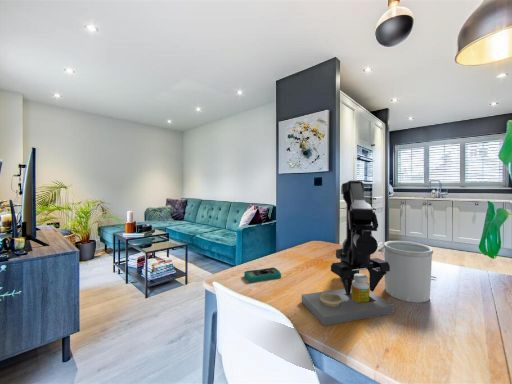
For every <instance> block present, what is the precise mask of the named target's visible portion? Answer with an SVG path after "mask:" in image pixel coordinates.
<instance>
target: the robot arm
mask: <svg viewBox="0 0 512 384" xmlns="http://www.w3.org/2000/svg"><path fill="white" fill-rule="evenodd" d="M340 187H341V188H340V194H341V195H342V199H343V200H344V202H345V204H346V208H345V209H346V212H345V213H346V216H345V217H346V218H345V219H346V221H345V222H346V224H345V225H346V226H345V229H346V232H345V233H346V236H345V239H344V241H343V242H342V245H341V248H339V249H336V250H335V258H336V259H338V260H340V262H339V261H337V262H332V263H331V265H330V272H332V273H333V274H335V275H337V276H338V277H339V278H340V280H341V282H342V283H341V284H342V285H343V289H344V288H345V291H346V294H347V295H350V292H351V287H352V281H353V280H354V274H360V271H364V270H367V272H368V273H369V278H368V279H369V282H368V283H369V286H370V291H371V292H372V293H374V291H375V290H376V288H377V286H378V285H379V283H380V281H382V279H383V278H384V277H385V274H387V272H388V271H390V265H389V264H388V262H386V261H385V259H380V258H378V257H375V258H371V255H373V254H374V253H375V252H377V250H378V247H379V244H378V241H377V239H376V237H374V236H373V233H372V232H378V228H379V221H378V218H377V217H378V216H377V214H376V211H374V209H373V207H372V205H371V204H370V203H369V202H366V198H365V194H364V193H365V183H364V182H363V181H362V180H359V179H358V180H354V179H353V180H347V182H343V183H341V186H340Z"/></svg>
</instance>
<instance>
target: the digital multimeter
mask: <svg viewBox="0 0 512 384" xmlns="http://www.w3.org/2000/svg"><path fill="white" fill-rule="evenodd" d="M243 273H244V275H243V276H244V278H245V280H246V281H247V282H248V283H256V282H262V281H268V280H275V279H276V280H277V279H282V273H281V271H280V270H278V269H277V268H276V267H268V268H261V269H260V268H259V269H252V270H245V271H244V272H243Z"/></svg>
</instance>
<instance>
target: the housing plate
mask: <svg viewBox="0 0 512 384" xmlns="http://www.w3.org/2000/svg"><path fill="white" fill-rule="evenodd" d="M351 294H352V286H351V292H350V295H347V294H346V291H345V288H344V287H343V288H338V289H330V290H325V291H318V292H311V293H310V292H309V293H302V294H301V303H302V304H303V305H304V306H305V307H306V309H308V310H309V312H310V313H311V314H312V315H313V316H314V317H315V318H316V319H317V320H318V321H319V322H320V323H321V324H322V325H323V327H326V326H333V325H338V324H343V323H348V322H352V321H358V320H364V319H369V318H374V317H379V316H384V315H390V314H393V313H394V304H392V303H391V302H389V301H387V300H386V299H384V298H382V297H381V296H379V295H378V294H376V293H375V292H372V291H369V302H368V303H362V304H357V303H356V302H355V301H353V300H352V299H351Z"/></svg>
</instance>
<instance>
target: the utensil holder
mask: <svg viewBox="0 0 512 384" xmlns="http://www.w3.org/2000/svg"><path fill="white" fill-rule="evenodd" d="M383 248H384V253H383V254H384V261H386V262H388V264H389V265H390V271H388V272H387V274H385V275H384V290H385V292H386V293H387V294H388V295H389V296H391V297H393V298H395V299H397V300H401V301H405V302H409V303H415V304H416V303H417V304H419V303H420V304H421V303H425V302H428V301H429V300H430V299H431V285H432V277H431V276H432V262H433V261H432V260H433V254H434V249H433V247H431V246H430V245H426V244H424V243H419V242H414V241H407V240H406V241H405V240H388V241H385V242H383Z"/></svg>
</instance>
